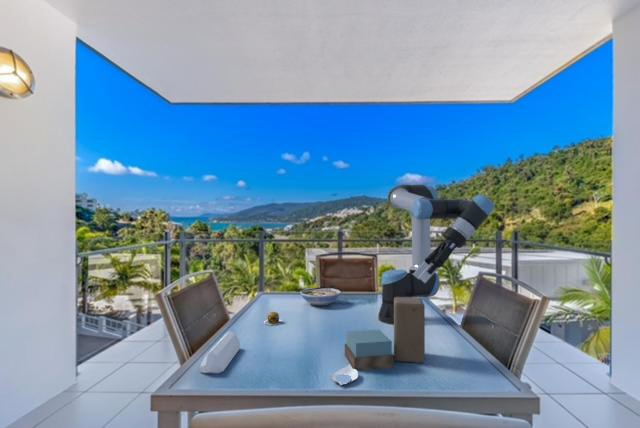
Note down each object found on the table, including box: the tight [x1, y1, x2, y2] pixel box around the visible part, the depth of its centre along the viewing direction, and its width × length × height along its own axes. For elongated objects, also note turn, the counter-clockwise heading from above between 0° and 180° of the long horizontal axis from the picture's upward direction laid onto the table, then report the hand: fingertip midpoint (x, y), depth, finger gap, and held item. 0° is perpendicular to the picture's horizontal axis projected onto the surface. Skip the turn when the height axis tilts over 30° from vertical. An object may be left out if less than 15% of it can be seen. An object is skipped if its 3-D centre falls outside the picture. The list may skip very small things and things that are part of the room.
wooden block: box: [393, 297, 426, 364], centre depth 123 cm, size 10×10×20 cm
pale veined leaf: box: [331, 363, 359, 386], centre depth 106 cm, size 8×12×2 cm, turn 163°
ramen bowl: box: [297, 285, 341, 307], centre depth 198 cm, size 25×23×8 cm
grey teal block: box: [346, 329, 393, 358], centre depth 119 cm, size 12×12×4 cm
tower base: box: [344, 343, 394, 371], centre depth 119 cm, size 13×13×4 cm
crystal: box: [199, 330, 241, 374], centre depth 120 cm, size 7×7×24 cm
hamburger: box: [263, 311, 284, 326], centre depth 163 cm, size 12×12×6 cm
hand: (418, 278), depth 124 cm, fingers open, 13 cm apart
